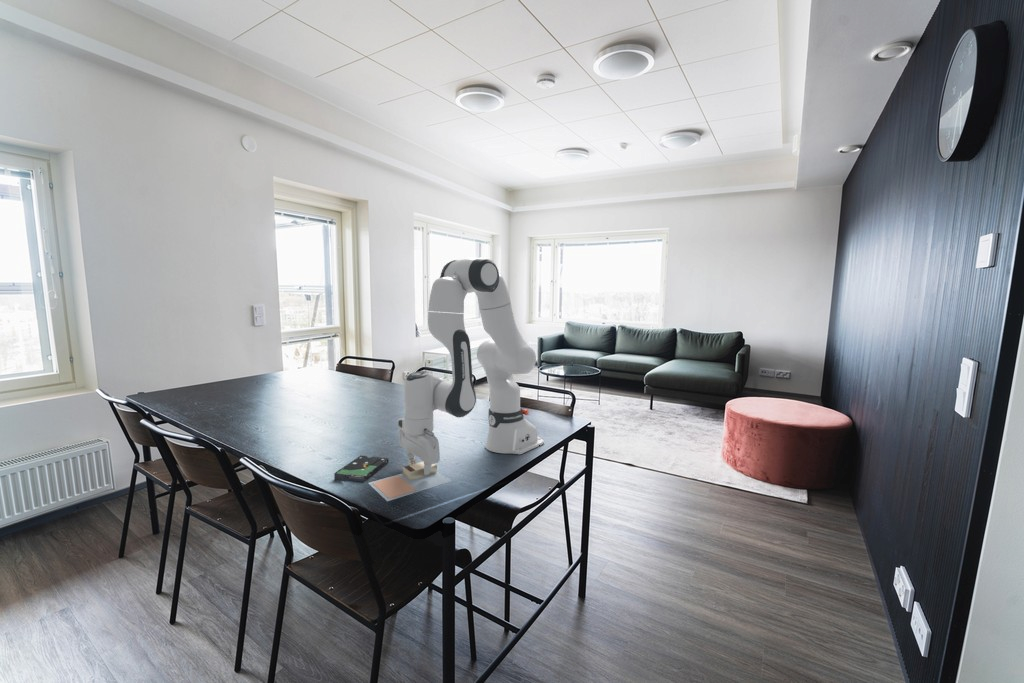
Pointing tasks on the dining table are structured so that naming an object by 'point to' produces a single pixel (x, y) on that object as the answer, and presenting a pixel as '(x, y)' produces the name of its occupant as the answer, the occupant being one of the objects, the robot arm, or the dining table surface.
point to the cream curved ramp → (417, 470)
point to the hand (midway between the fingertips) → (418, 468)
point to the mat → (406, 485)
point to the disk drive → (361, 468)
